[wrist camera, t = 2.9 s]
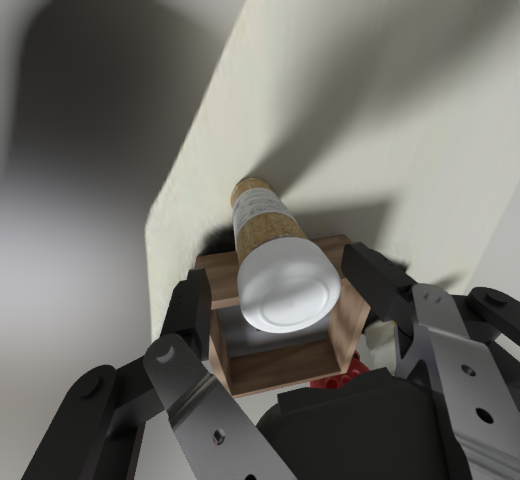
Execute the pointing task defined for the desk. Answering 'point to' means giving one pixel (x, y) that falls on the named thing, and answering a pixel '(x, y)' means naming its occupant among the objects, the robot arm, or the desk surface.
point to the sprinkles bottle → (278, 263)
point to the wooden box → (279, 344)
